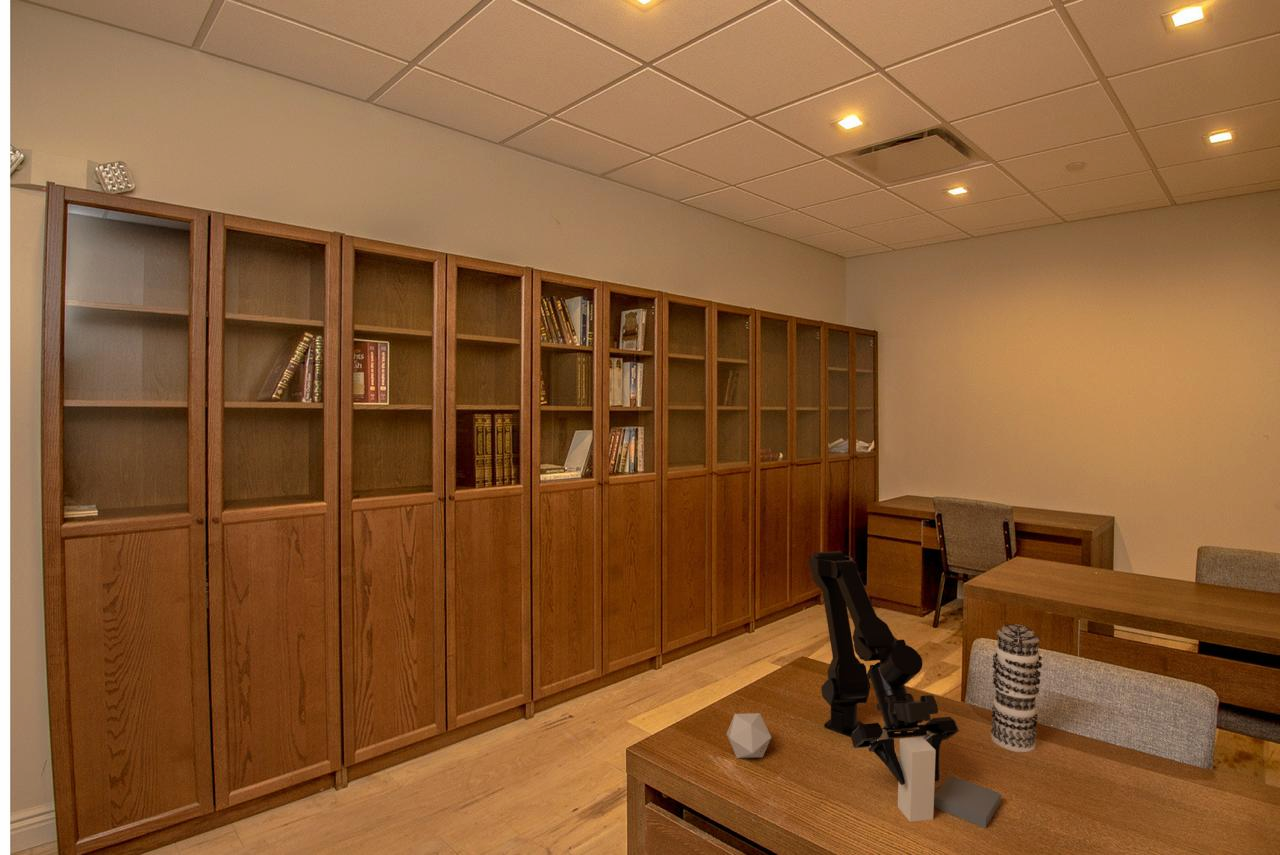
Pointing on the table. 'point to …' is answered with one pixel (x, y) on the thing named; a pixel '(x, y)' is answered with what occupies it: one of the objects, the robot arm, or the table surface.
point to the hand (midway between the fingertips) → (920, 782)
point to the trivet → (967, 800)
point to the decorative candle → (1015, 688)
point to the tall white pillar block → (917, 779)
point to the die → (748, 735)
